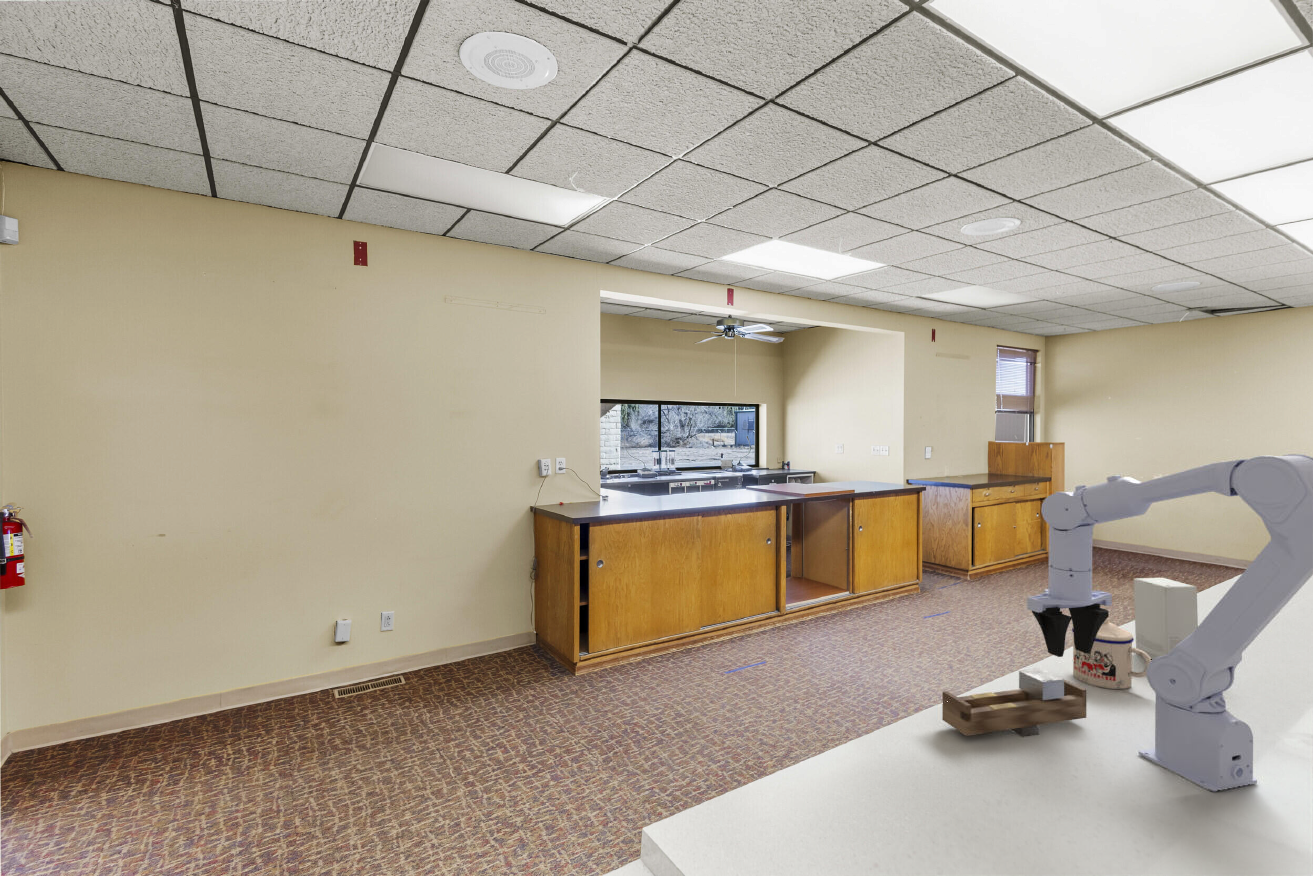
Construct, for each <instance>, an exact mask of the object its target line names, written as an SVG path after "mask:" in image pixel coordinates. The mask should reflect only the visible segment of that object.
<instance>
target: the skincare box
mask: <svg viewBox="0 0 1313 876" xmlns="http://www.w3.org/2000/svg"><path fill="white" fill-rule="evenodd" d="M1133 593H1134V594H1133V597H1134V598H1133V599H1134V623H1135V624H1134V625H1135V627H1134V628H1135V648H1136V649H1140V650H1142V651H1144V652H1145V653H1147V654H1148V655H1149V656H1150V658H1151V659H1152V660H1153V659H1155V658H1157V657H1160V656H1164V655H1166V654H1168V653H1170V652H1171V651H1172V650H1173V648H1174V647H1175V646H1176V645H1177V644H1179V643H1180V642H1181V641H1183V640H1184V639H1185V638H1187V637H1188V636H1189V635H1191V634H1192V633H1193V632H1194V631H1195V630H1196V629H1197V627H1198V626H1199V621H1198V620H1199V619H1198V586H1197V585H1196V586H1195V585H1192V584H1187V583H1183V582H1180V581H1177V580H1173V579H1169V578H1165V577H1146V578H1144V577H1142V578H1140V577H1139V578H1138V577H1135V578H1133Z"/></svg>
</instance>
